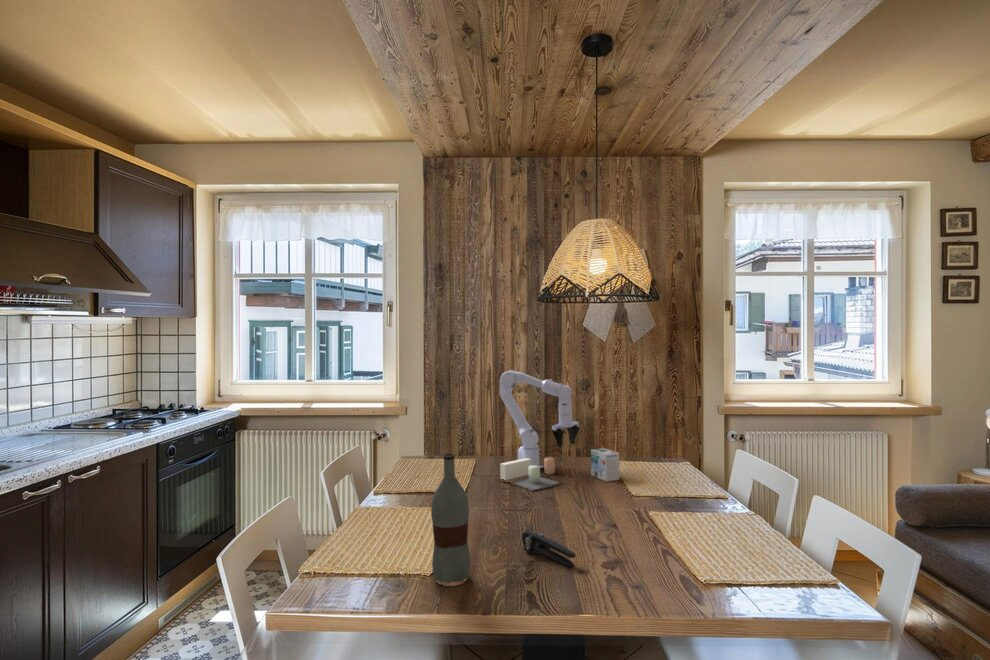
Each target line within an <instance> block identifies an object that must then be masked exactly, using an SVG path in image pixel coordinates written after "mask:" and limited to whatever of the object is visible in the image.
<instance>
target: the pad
mask: <svg viewBox="0 0 990 660" xmlns="http://www.w3.org/2000/svg"><path fill="white" fill-rule="evenodd" d="M515 484H517V485H519V486H522V487H524V488H527V489H529V490H532V491H534V490H538V491H540V490H539V489H542V490H544V489H543V488H545V489H548V488H547V487H549V488H552V486H553V487H556V485H557V486H560V485H561V483H560V482H559V481H555V480H552V479H548V478H545V477H542V476H540V483H538V484H531V483H529V477H527V478H523V479H519V480H516V483H515ZM529 490H528V491H529ZM532 491H531V492H532ZM534 492H535V491H534Z"/></svg>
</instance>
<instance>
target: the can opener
mask: <svg viewBox="0 0 990 660" xmlns="http://www.w3.org/2000/svg"><path fill="white" fill-rule="evenodd" d="M521 535H522V536H521V538H522V543H523V549H524V551H525V552H526V553H528V552H529V554H543V555H544V556H546V557H548V558H549V559H551V560H554V561H555V562H556V563H558V564H560V565H563V566H565V567H567V566H568V568H574V566H575V564H574V562H573V561H572V560H570V559H568V558H571V559H574V558H576V556H577V555H576V554H575V552H573V551H572V550H570V549H569V548H567V547H566V546H564V545H562V544H561V543H558V542H557V541H555V540H553V539H552V538H549V537H547V536H545V535H544V534H543V533H536V532H535V531H532V530H528V529H526V530H524V531H523V532H522V534H521ZM559 553H560V554H559ZM561 554H562V555H561ZM563 555H564V556H563ZM565 556H566V557H565ZM567 557H568V558H567Z"/></svg>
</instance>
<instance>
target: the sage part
mask: <svg viewBox="0 0 990 660" xmlns="http://www.w3.org/2000/svg"><path fill="white" fill-rule="evenodd" d="M540 466H541V465H540ZM540 466H536V465H532V466H529V483H531V484H538V483H540V477H541V472H540V471H541V468H540Z"/></svg>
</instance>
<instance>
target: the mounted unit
mask: <svg viewBox="0 0 990 660" xmlns="http://www.w3.org/2000/svg"><path fill="white" fill-rule="evenodd" d="M529 466H531V459H528V458H524V459H519V460H518V459H516V460H511V461H506V462H502V463H500V464H499V467H500V469H499V470H500V471H499V473H500V478H499V479H504V480H508V479H513V478H521V477H526V476H529Z"/></svg>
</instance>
